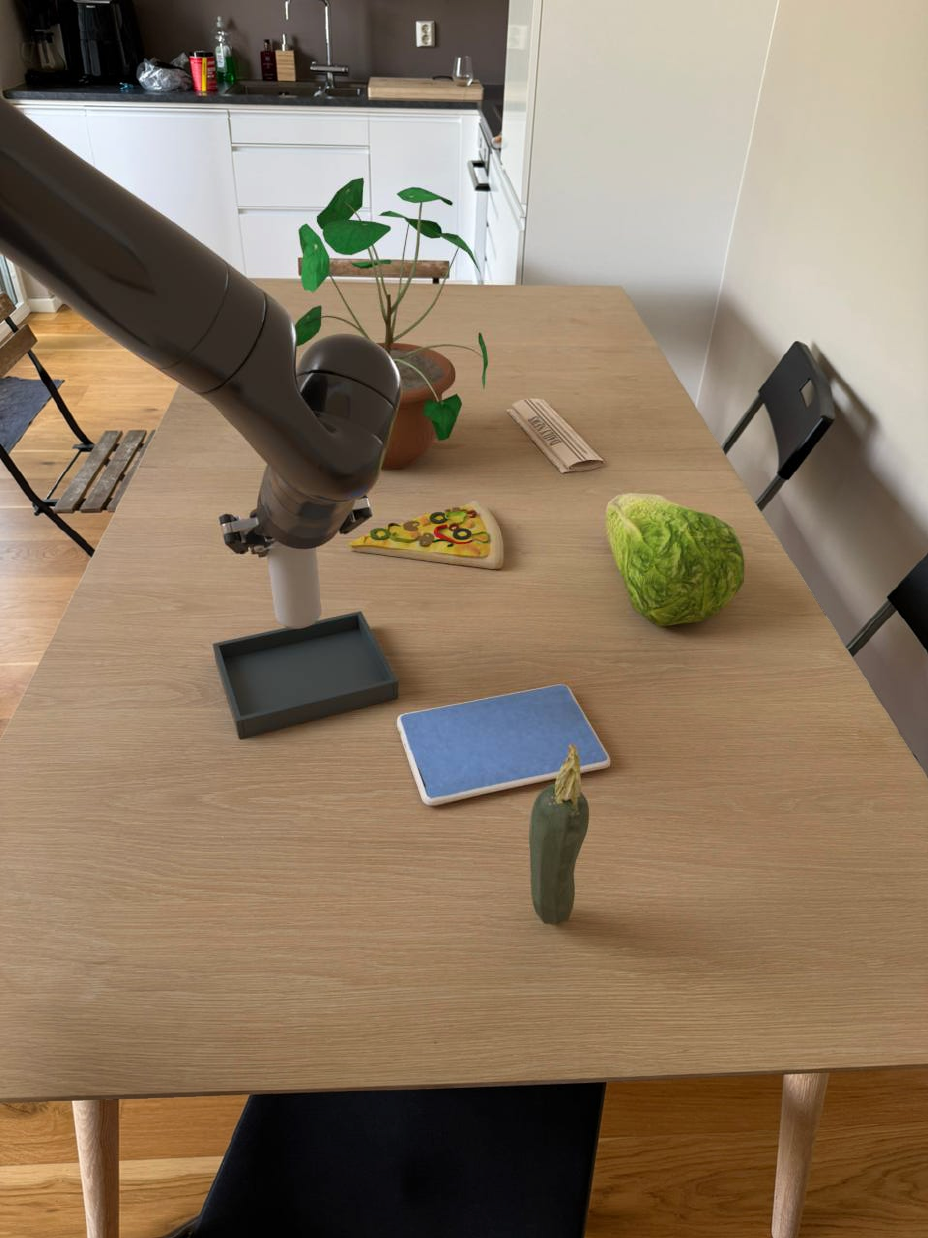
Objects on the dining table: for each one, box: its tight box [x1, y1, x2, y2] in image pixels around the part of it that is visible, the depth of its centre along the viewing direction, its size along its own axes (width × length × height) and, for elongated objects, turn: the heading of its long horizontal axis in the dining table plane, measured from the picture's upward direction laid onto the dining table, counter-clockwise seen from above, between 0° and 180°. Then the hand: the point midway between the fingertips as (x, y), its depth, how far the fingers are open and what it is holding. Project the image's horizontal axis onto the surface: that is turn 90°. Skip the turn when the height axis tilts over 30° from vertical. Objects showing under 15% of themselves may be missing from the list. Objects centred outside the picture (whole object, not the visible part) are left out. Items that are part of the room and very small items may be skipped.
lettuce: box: [604, 492, 745, 628], centre depth 112 cm, size 14×24×14 cm
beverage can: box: [266, 544, 323, 629], centre depth 89 cm, size 5×5×12 cm
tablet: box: [396, 683, 611, 807], centre depth 90 cm, size 19×13×1 cm, turn 107°
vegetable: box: [528, 744, 590, 926], centre depth 69 cm, size 4×4×20 cm
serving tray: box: [212, 610, 400, 740], centre depth 97 cm, size 17×13×2 cm
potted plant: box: [294, 177, 489, 470], centre depth 131 cm, size 31×29×40 cm
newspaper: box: [506, 398, 605, 474], centre depth 146 cm, size 24×7×2 cm, turn 19°
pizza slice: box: [347, 500, 504, 570], centre depth 119 cm, size 16×21×3 cm
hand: (286, 542), depth 89 cm, fingers closed on beverage can, 5 cm apart
